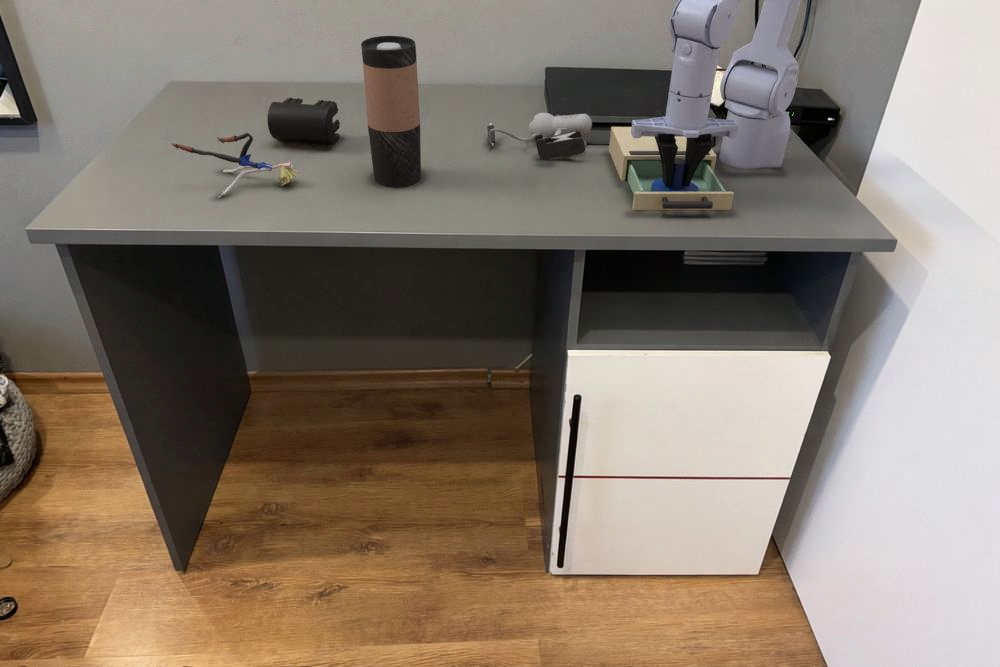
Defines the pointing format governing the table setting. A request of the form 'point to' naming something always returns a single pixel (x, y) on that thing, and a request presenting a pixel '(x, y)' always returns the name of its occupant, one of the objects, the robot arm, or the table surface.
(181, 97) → the table surface
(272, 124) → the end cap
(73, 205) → the table surface
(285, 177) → the spliced wire bundle
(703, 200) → the wooden drawer
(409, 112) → the travel mug
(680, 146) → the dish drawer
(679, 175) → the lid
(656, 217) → the table surface
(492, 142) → the clip-on lamp
